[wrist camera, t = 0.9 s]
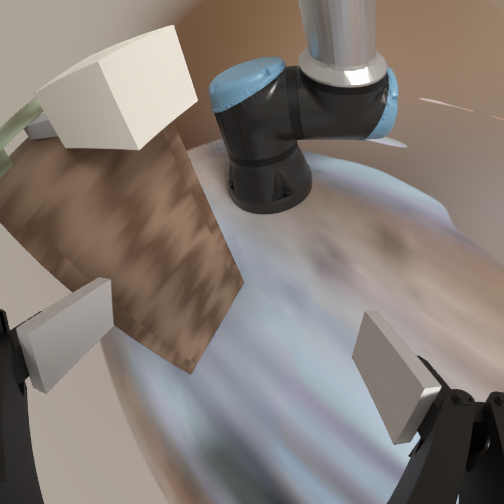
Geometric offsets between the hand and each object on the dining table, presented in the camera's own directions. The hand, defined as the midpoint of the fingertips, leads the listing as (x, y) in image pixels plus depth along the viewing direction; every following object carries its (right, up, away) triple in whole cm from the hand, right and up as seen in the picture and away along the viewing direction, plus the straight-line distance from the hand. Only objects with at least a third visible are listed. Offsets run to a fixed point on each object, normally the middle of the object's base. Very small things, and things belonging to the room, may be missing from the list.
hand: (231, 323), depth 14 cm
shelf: (-10, -5, +27) cm, 29 cm away
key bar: (-10, +11, +1) cm, 15 cm away
